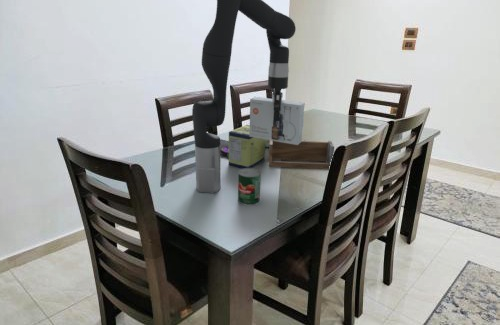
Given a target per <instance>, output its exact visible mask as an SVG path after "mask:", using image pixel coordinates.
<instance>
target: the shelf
mask: <svg viewBox="0 0 500 325" xmlns="http://www.w3.org/2000/svg"><path fill="white" fill-rule="evenodd" d="M268 148H269V149H268V151H269V152H268V167H281V168H283V167H284V168H303V169H304V168H306V169H328V170H329V166H330V162H331V159H332V156H333V153H334V154H335V146H334V144H333V142H332V141H331V140H328V141H317V140H316V141H315V140H314V141H313V140H309V141H308V140H302V141H301V142H300V143H299V144H298V145H294V144H289V143H283V142H277V141H272V140H270V146H269V147H268ZM333 157H334V156H333ZM275 160H276V161H275ZM277 160H279V161H277ZM280 160H290V161H280ZM292 160H293V161H292ZM297 160H298V161H297ZM299 161H301V162H299ZM304 161H319V162H304ZM320 161H321V162H320Z"/></svg>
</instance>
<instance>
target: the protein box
mask: <svg viewBox="0 0 500 325" xmlns="http://www.w3.org/2000/svg"><path fill="white" fill-rule="evenodd" d="M249 132H250V124H245V125H242V126H240V127H238V128H235V129H232V130H231V131H229V132H228V141H229V158H228V166H232V167H235V168H239V169H243V168H254V167H255V166H257V165H259V164H261V163H262V162H264V161H265V160H266V159H265V158H266V147H265V139H260V138H255V137H249Z"/></svg>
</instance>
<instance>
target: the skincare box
mask: <svg viewBox="0 0 500 325" xmlns="http://www.w3.org/2000/svg"><path fill="white" fill-rule="evenodd" d="M275 107H279V105H276V106H275ZM273 109H274V106H273V99H272V98H270V97H269V98H268V97H260V96H254V97H251V98H250V101H249V125H250V132H249V137H255V138H260V139H266V140H272V141H277V142H283V143H289V144H294V145H298V144H299V143H300V142H301V141H303V140H302V139H303V127H304V115H305V114H304V113H305V112H304V111H305V102H301V101H292V100H284V99H282V104H281V110H280V116H279V121H274V110H273Z"/></svg>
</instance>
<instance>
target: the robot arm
mask: <svg viewBox="0 0 500 325" xmlns="http://www.w3.org/2000/svg"><path fill="white" fill-rule="evenodd" d="M239 12H240V13H242V15H244V16H245V17H247V18H248V19H249V20H251V21H252V22H253V23H254V24H256V25H258V26H259V27H260V28H261V29H264V30H265V32H266V37H267V44H268V48H269V65H268V74H267V75H268V77H267V87H268V88H269V89H272V90H273V91H272V92H271V99H273V106H274V109H273V110H274V121H279V116H280V110H281V104H282V100H283V96H284V95H283V92H282V90H286V89H288V87H289V72H290V71H289V70H290V68H289V58H290V49H289V47H288V46H286V45H284V44H282V41H281V40H288V39H292V38H293V37H294V35H295V33H296V28H297V27H296V24H295V21H294V20H293V19H292V18H291V17H289V16H287V15H286V14H283V13H282V12H280V11H277V10H275V9H274V8H273V7H272V6H270V5H269V4H268V3H266V2H265V1H264V0H216V13H215V19H214V22H213V25H212V27H211V28H210V30H209V32H208V33H207V35H206V37H205V39H204V42H203V44H202V53H201V55H202V56H201V66H202V69H203V72H204V74H205V76H206V77H207V79H208V80H209V83H210V85H211V87H212V91H213V94H212V95H213V96H212V100H203V101H195V102H194V103H193V104H192V109H191V110H192V111H191V113H192V126H193V137H194V151H195V152H194V156H195V161H194V162H195V185H196V186H195V188H196V190H197V192H198V193H208V194H209V193H210V194H211V193H212V194H215V193H216V192H217V191H219V190H220V189H221V183H222V182H221V156H220V139H221V138H220V136H218V135H216V134H214V133H209V132H208V131H207V128H211V127H212V128H213V127H219V126H221V125H223V123H224V121H225V117H226V106H227V104H226V103H227V86H228V80H229V71H230V64H231V57H232V53H233V52H232V51H233V50H232V49H233V42H234V35H235V28H236V23H237V18H238V14H239ZM276 105H279V107H275V106H276Z"/></svg>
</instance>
